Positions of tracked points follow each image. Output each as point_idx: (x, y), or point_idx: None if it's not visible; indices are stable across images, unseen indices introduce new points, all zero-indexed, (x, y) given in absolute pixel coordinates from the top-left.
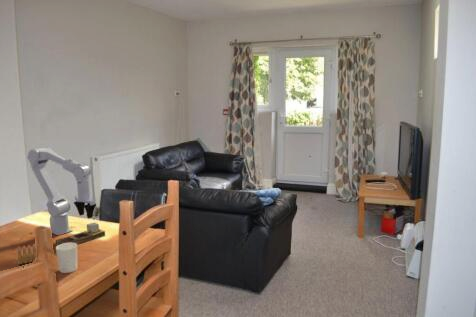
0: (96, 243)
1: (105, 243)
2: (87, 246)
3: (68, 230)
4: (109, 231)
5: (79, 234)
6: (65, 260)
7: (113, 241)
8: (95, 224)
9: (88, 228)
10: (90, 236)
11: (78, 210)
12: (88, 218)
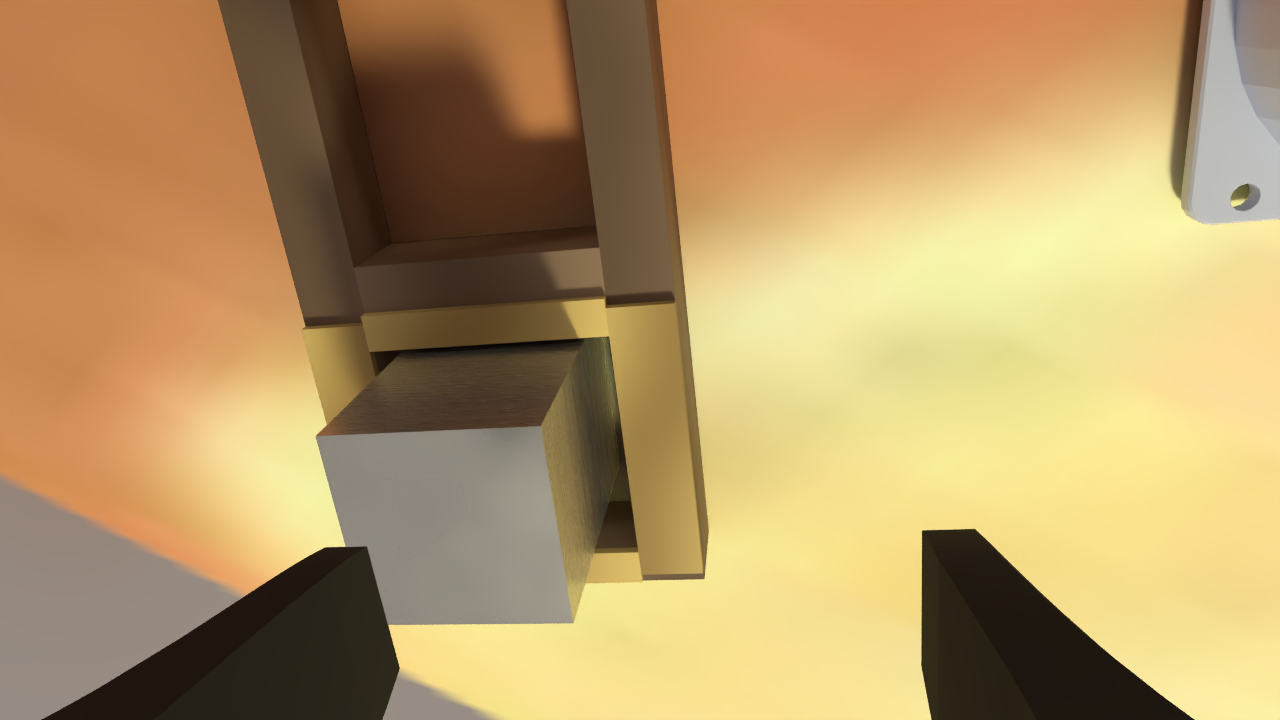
0: (92, 242)
1: (12, 353)
2: (21, 37)
3: (1270, 133)
4: (547, 673)
5: (586, 148)
6: None
7: (39, 483)
8: (389, 569)
9: (490, 387)
10: (297, 271)
11: (1010, 652)
12: (323, 551)
